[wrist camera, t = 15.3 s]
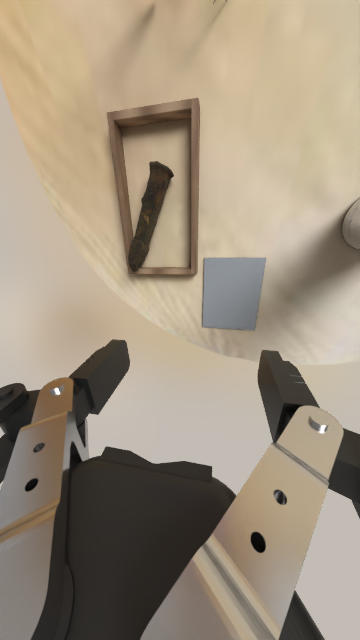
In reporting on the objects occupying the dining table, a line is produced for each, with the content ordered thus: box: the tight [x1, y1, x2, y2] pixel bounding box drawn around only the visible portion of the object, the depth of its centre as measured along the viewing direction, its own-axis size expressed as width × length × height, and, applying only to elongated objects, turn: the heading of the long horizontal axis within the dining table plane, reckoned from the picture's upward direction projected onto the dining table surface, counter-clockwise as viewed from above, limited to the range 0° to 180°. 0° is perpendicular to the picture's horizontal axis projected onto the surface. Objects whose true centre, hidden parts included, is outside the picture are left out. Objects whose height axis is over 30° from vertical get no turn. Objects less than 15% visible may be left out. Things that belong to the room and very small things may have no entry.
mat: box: [203, 258, 266, 330], centre depth 41 cm, size 12×16×1 cm
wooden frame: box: [107, 98, 200, 275], centre depth 36 cm, size 15×26×2 cm, turn 1°
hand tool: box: [128, 161, 174, 272], centre depth 35 cm, size 19×4×5 cm, turn 158°
